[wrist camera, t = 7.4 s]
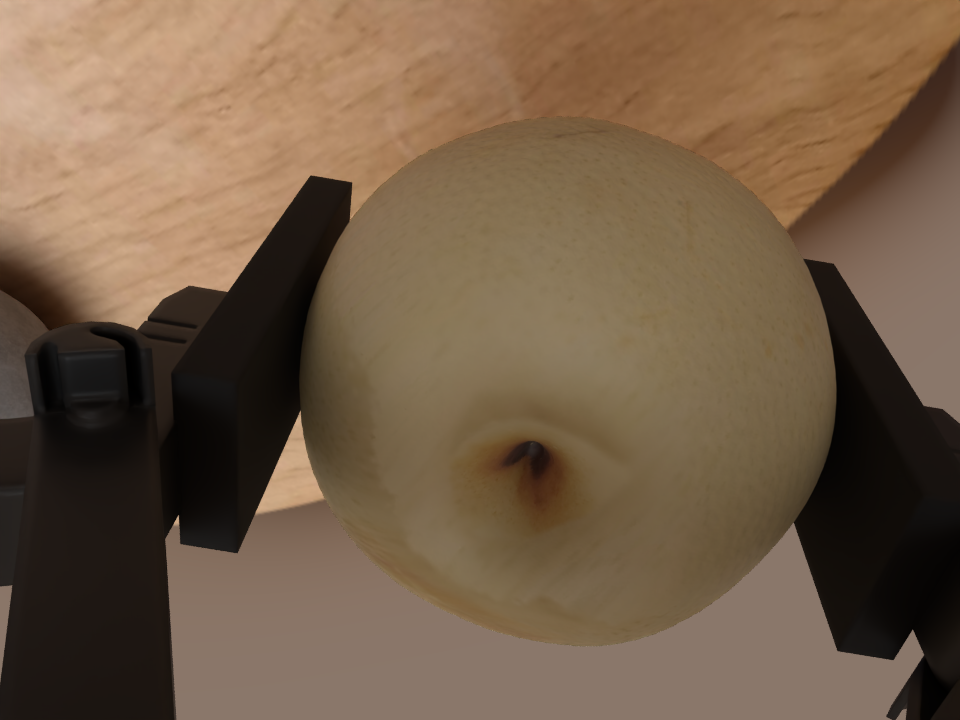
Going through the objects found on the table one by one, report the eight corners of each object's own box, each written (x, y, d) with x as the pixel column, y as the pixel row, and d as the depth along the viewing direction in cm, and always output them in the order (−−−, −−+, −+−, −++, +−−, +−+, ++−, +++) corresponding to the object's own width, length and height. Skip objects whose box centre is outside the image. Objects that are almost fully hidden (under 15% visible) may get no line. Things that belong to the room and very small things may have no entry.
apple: (673, 522, 19) (460, 800, 13) (433, 249, 19) (140, 412, 14) (1007, 336, 13) (868, 693, 8) (651, -43, 14) (296, 46, 8)
